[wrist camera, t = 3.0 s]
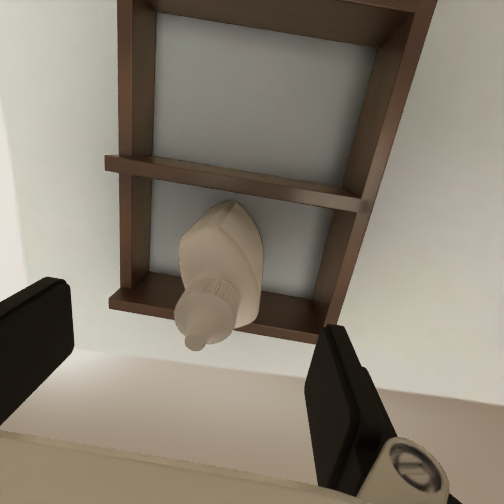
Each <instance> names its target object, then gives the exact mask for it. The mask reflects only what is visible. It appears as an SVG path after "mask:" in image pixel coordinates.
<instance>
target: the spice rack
mask: <svg viewBox="0 0 504 504" xmlns="http://www.w3.org/2000/svg"><path fill="white" fill-rule="evenodd" d="M436 3H437V0H117V29H118V117H119V155H105V170H106V171H111V172H117V173H119V205H120V288H119V289H118V290H117V291H116V292H115V293H114V294H113V295H112V296H111V297H110V298H109V309H114V310H120V311H126V312H131V313H137V314H143V315H149V316H154V317H160V318H166V319H172V320H175V318H174V317H175V316H174V311H175V308H176V307H175V306H176V305H177V303H178V301H179V299H180V298H181V296H182V294H183V293H184V291H185V287H184V284H183V281H182V278H181V277H175V276H170V275H164V274H158V273H152V272H149V250H150V214H151V179H152V178H153V179H158V180H164V181H170V182H176V183H182V184H188V185H194V186H200V187H206V188H212V189H218V190H224V191H230V192H236V193H242V194H247V195H253V196H259V197H265V198H271V199H277V200H283V201H289V202H295V203H301V204H307V205H313V206H319V207H325V208H331V209H336V210H335V213H334V217H333V221H332V225H331V228H330V232H329V236H328V240H327V244H326V247H325V251H324V255H323V259H322V263H321V266H320V270H319V274H318V278H317V281H316V285H315V289H314V293H313V297H312V300H309V299H303V298H298V297H292V296H286V295H280V294H274V293H268V292H263V291H261V297H260V305H259V312H258V315H257V317H256V319H255V320H254V321H253V322H251V323H250V324H247V325H245V326H242V327H239V328H235V329H233V330H235V331H241V332H246V333H252V334H258V335H264V336H270V337H275V338H281V339H287V340H293V341H298V342H304V343H310V344H316V343H317V340H318V336H319V332H320V329H321V327H326V326H327V324H333V325H337V321H338V318H339V315H340V312H341V309H342V305H343V302H344V299H345V296H346V292H347V289H348V286H349V283H350V280H351V276H352V273H353V270H354V267H355V264H356V260H357V257H358V254H359V251H360V248H361V244H362V241H363V238H364V235H365V231H366V228H367V225H368V222H369V219H370V215H371V213H372V209H373V206H374V203H375V199H376V196H377V193H378V190H379V186H380V183H381V180H382V177H383V174H384V170H385V167H386V164H387V161H388V158H389V154H390V151H391V148H392V145H393V141H394V138H395V135H396V132H397V129H398V125H399V122H400V119H401V116H402V113H403V109H404V106H405V103H406V100H407V97H408V93H409V90H410V87H411V84H412V80H413V77H414V74H415V71H416V68H417V64H418V61H419V58H420V55H421V52H422V48H423V45H424V42H425V39H426V35H427V32H428V29H429V26H430V23H431V19H432V16H433V13H434V10H435V7H436ZM156 12H162V13H168V14H174V15H180V16H186V17H193V18H199V19H205V20H211V21H217V22H223V23H230V24H236V25H242V26H248V27H254V28H260V29H267V30H273V31H279V32H285V33H291V34H297V35H303V36H310V37H316V38H322V39H328V40H334V41H340V42H347V43H353V44H359V45H365V46H371V47H377V48H378V51H377V54H376V58H375V62H374V66H373V70H372V73H371V77H370V81H369V85H368V88H367V92H366V96H365V100H364V104H363V107H362V111H361V115H360V119H359V123H358V126H357V130H356V134H355V138H354V141H353V145H352V149H351V153H350V157H349V160H348V164H347V168H346V172H345V176H344V179H343V183H342V187H336V186H330V185H324V184H318V183H312V182H306V181H300V180H294V179H289V178H283V177H277V176H271V175H265V174H259V173H253V172H247V171H241V170H235V169H229V168H223V167H217V166H211V165H205V164H199V163H193V162H187V161H181V160H175V159H169V158H163V157H157V156H152V144H153V109H154V73H155V38H156Z"/></svg>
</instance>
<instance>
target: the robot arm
mask: <svg viewBox="0 0 504 504" xmlns="http://www.w3.org/2000/svg"><path fill="white" fill-rule="evenodd" d="M73 348H74V332H73V319H72V305H71V291H70V286H69V285H68V284H67V283H66V281H65V280H63V279H58V278H52V277H45V278H42V279H41V280H39V281H37V282H35V283H34V284H32V285H30V286H28V287H26V288H25V289H23V290H21V291H19V292H17V293H16V294H14V295H12V296H10V297H9V298H7V299H5V300H3V301H1V302H0V426H1V424H2V423H3V422H4V421H5V420H6V419H7V418H8V417H9V416H10V415H11V414H12V413H13V412H14V411H15V410H16V409H17V408H18V407H19V406H20V405H21V404H22V403H23V402H24V401H25V400H26V399H27V398H28V397H29V396H30V395H31V394H32V393H33V392H34V391H35V390H36V389H37V388H38V387H39V386H40V385H41V384H42V383H43V381H45V380H46V379H47V378H48V377H49V376H50V375H51V373H52V372H53V371H54V370H55V369H56V368H57V367H58V366H59V365H60V364H61V363H62V362H63V361H64V360H65V359H66V358H67V357H68V356H69V355H70V354H71V353H72V351H73ZM304 390H305V391H304V393H305V400H306V407H307V414H308V420H309V427H310V434H311V441H312V448H313V454H314V461H315V468H316V474H317V481H318V486H315V485H311V484H307V483H302V482H297V481H292V480H287V479H282V478H276V477H271V476H266V475H261V474H256V473H251V472H245V471H239V470H234V469H228V468H222V467H216V466H210V465H205V464H199V463H193V462H187V461H182V460H176V459H170V458H165V457H159V456H152V455H147V454H141V453H135V452H128V451H123V450H117V449H111V448H105V447H99V446H93V445H87V444H81V443H75V442H69V441H63V440H57V439H51V438H45V437H39V436H32V435H26V434H20V433H14V432H8V431H1V430H0V504H462V503H461V502H459V501H458V500H457V499H456V498H455V497H453V496H452V495H451V494H450V493H449V481H448V478H447V475H446V473H445V471H444V469H443V468H442V466H441V465H440V463H439V462H438V461H437V460H436V459H435V457H434V456H433V455H432V454H431V453H430V452H428V451H427V450H426V449H425V448H424V447H422V446H420V445H419V444H417V443H415V442H414V441H411V440H409V439H406V438H402V437H397V434H396V433H395V430H394V428H393V426H392V424H391V421H390V419H389V417H388V414H387V412H386V410H385V408H384V406H383V403H382V401H381V399H380V397H379V395H378V392H377V390H376V388H375V386H374V383H373V381H372V379H371V377H370V375H369V372H368V371H367V369H366V368H365V367H362V366H361V364H360V362H359V360H358V357H357V355H356V353H355V350H354V348H353V346H352V343H351V341H350V339H349V336H348V334H347V332H346V329H345V327H344V326H339V325H333V324H327V326H326V327H321V329H320V332H319V336H318V340H317V343H316V347H315V350H314V354H313V357H312V361H311V364H310V368H309V371H308V375H307V378H306V382H305V389H304Z"/></svg>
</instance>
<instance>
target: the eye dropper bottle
mask: <svg viewBox="0 0 504 504" xmlns="http://www.w3.org/2000/svg"><path fill="white" fill-rule="evenodd" d="M178 259H179V268H180V273H181V277H182V281H183V284H184V287H185V291H184V293H183V294H182V296H181V298H180V299H179V301H178V303H177V305H176V306H175V307H176V308H175V311H174V316H175V317H174V318H175V323H176V326H177V327H178V329H179V331H180V332H181V333H182V334H183V335H184V336H185V345H186V346H187V348H189V349H190V350H192V351H200V350H202V349H203V348H204V346H205V345H206V344H215V343H218V342H221V341H223V340H224V339H226V338H227V337H228V336H229V335H230V333H232V331H233V329H235V328H239V327H242V326H245V325H247V324H250V323H251V322H253V321H254V320H255V319H256V317H257V315H258V312H259V305H260V297H261V286H262V274H263V262H264V255H263V246H262V241H261V238H260V234H259V232H258V229H257V227H256V225H255V223H254V222H253V220H252V219H251V217H250V216H249V214H248V213H247V212H246V211H245V210H244V208H243V207H242V206H241V205H239V204H238V203H237V202H235V201H227V202H224V203H222V204H219V205H217V206H215V207H212V208H211V209H210V210H209V211H207V212H206V213H205V214H204V215H203V216H202V217H201V218H200V219H199V220H198V221H197V222H196V223H195V224H194V225H193V226H192V227H191V228H190V229H189V230H188V231H187V232H186V233H185V234H184V235H183V236H182V238H181V240H180V242H179V246H178Z"/></svg>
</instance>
